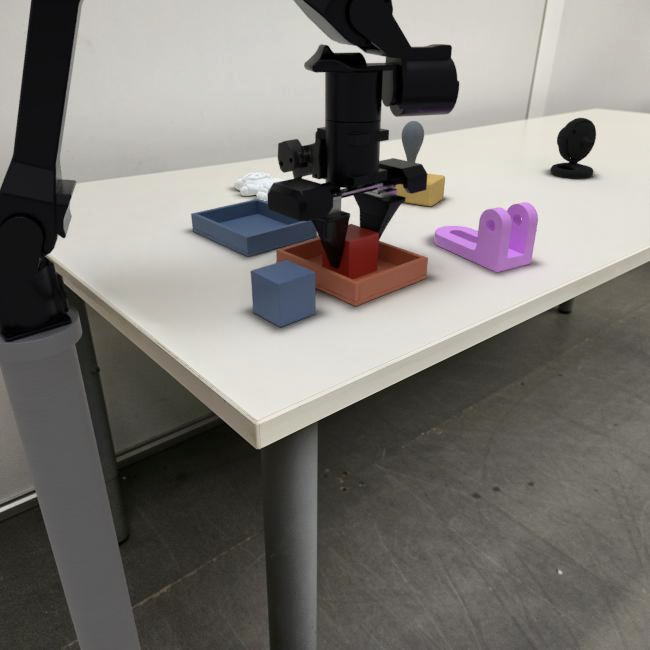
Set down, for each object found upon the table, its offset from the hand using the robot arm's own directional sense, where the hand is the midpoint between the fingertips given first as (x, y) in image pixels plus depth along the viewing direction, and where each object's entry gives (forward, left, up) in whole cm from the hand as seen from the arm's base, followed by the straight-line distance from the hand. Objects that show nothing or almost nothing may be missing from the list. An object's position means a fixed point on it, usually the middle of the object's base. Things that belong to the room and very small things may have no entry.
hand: (350, 261), depth 69 cm
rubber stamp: (+29, +17, -2) cm, 34 cm away
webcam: (+64, +8, -2) cm, 65 cm away
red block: (0, 0, -1) cm, 1 cm away
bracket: (+17, -5, -2) cm, 18 cm away
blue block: (-12, -3, -2) cm, 12 cm away
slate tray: (0, +19, -2) cm, 19 cm away
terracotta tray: (0, 0, -2) cm, 2 cm away
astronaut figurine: (+14, +35, -2) cm, 38 cm away
